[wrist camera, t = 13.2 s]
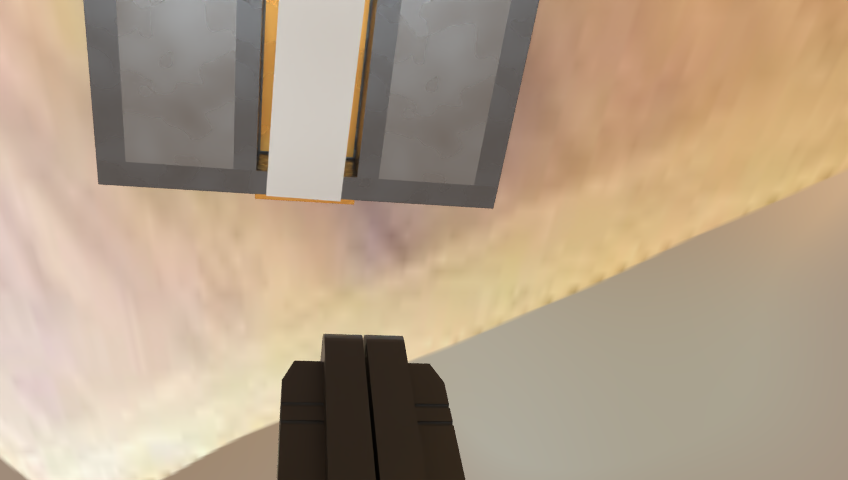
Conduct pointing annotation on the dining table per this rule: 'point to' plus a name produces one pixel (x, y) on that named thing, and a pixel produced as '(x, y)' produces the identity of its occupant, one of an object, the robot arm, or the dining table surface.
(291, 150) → the white rectangular block
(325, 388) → the robot arm
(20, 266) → the dining table surface
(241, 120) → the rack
